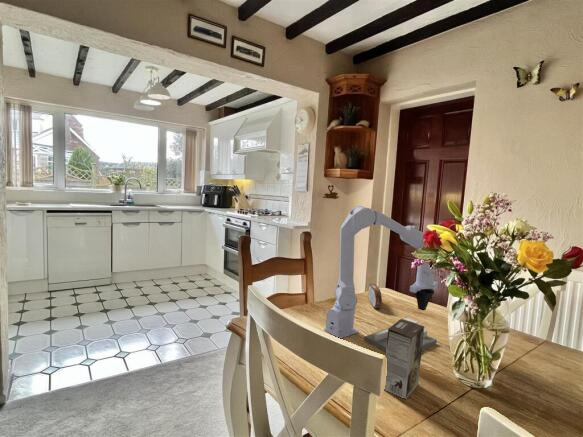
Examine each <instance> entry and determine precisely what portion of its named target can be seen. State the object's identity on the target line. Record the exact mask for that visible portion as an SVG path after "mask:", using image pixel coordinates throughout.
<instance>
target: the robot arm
mask: <svg viewBox="0 0 583 437" xmlns="http://www.w3.org/2000/svg"><path fill="white" fill-rule="evenodd" d="M373 225H374V226H379V225H380V226H382V227H385V228H386V229H389V230H391V231H393V232H395V233H396V234H399V238H400V240H401V241H403V242H404V243H406V244H407V245H409V246H412V247H413V248H415V249H417V250H418V249H419V248H421V247H423V234H425V232H422V231H421V230H419V229H418V227H417V226H416V225H406V226H404V225H402V224H401V223H400V222H397V221H395V220H394V219H393V218H391V217H389V216H388V215H386V214H384V213H383V212H379V211H377V210H373V209H372V208H370V207H366V206H362V205H358V206H356V207H354V208H353V209H351V210H350V211H349V212H348V215H347V216H346V217H345V219H344V221H343V223H342V224H341V226H340V228H339V255H338V256H339V258H338V261H339V263H338V265H339V266H338V279H337V284H336V287H335V288H334V296H335V298H336V300H335V301H334V304H333V306H332V307H331V308H330V309H328V311H327V312H326V319H325V320H326V321H325V327H324V328H323V330H324V331H325V332H327V333H329V334H331V335H333V336H334V337H336V338H338V337H339V339H343V338H345V337H348V336H352V335H355V334H359V330H358V329H355V328H354V323H355V313H356V305H357V303H358V296H357V295H356V292H355V291H356V288H355V282H354V275H355V274H354V270H355V269H354V268H355V267H354V266H355V235H357V234H358V233H359V232H360V231H361V230H363V229H366V228H369V227H371V226H373ZM416 269H417V270H416V276H415V277H416V278H415V282H414V283H413V284H412V285H410V286H409V292H411V293H413V294H414V296H415V298H416V299H415V300H416V303H417V309H418V310H421V311H426V309H427V308H428V305H429V302H430V300H431V299H432V297H433V295H434V294H435V290H436V289H437V288H438V287H439V282H438V281H435V275H436V268H435V269H430V265H429V264H428V263H427V262H425V263H424V264H423V265H420V266H418V265H417V268H416Z"/></svg>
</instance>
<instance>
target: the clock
mask: <svg viewBox="0 0 583 437" xmlns="http://www.w3.org/2000/svg"><path fill="white" fill-rule="evenodd" d="M381 291H382V290H381V289H380V287H379V286H378V285H377V283H370V284H368V300H369V303H370V304H371V306H372V307H374V308H373V309H381V308H382V304H383V303H382V302H383V299H382V292H381Z"/></svg>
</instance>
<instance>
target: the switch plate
mask: <svg viewBox="0 0 583 437" xmlns="http://www.w3.org/2000/svg"><path fill="white" fill-rule="evenodd" d="M389 328H390V327H388V328H385V329H382V330H379V331H377V332H373V333H371V334H368V335H365V336H364V342H365V343H368V344H369V345H372V346H373V347H376V349H379V350H381V351H383V352H384V353H386V347H387V337H388V329H389ZM437 340H438V339H435V338H433V337H432V336H429V335H428V330H426V329H424V334H423V344H422V351H424V350H427V349H429V348H431V347H433V346H435V345H437V342H438V341H437Z"/></svg>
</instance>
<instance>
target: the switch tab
mask: <svg viewBox="0 0 583 437" xmlns="http://www.w3.org/2000/svg"><path fill="white" fill-rule="evenodd" d="M403 319H404V320H407V321H411V322H413V323H416V324H418V325H419V321H416V320H414V319H412V318H409V317H405V318H403Z"/></svg>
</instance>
